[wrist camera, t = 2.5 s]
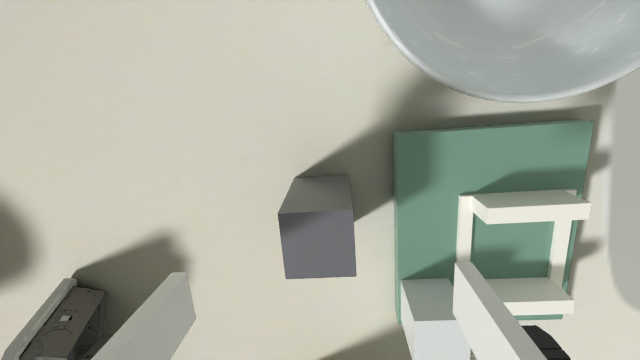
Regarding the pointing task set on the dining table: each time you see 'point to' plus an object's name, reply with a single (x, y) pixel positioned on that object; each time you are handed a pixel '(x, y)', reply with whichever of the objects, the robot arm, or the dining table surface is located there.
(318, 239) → the plug
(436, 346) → the plug
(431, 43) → the serving bowl
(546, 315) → the board
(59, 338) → the electrical switch
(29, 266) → the dining table surface
